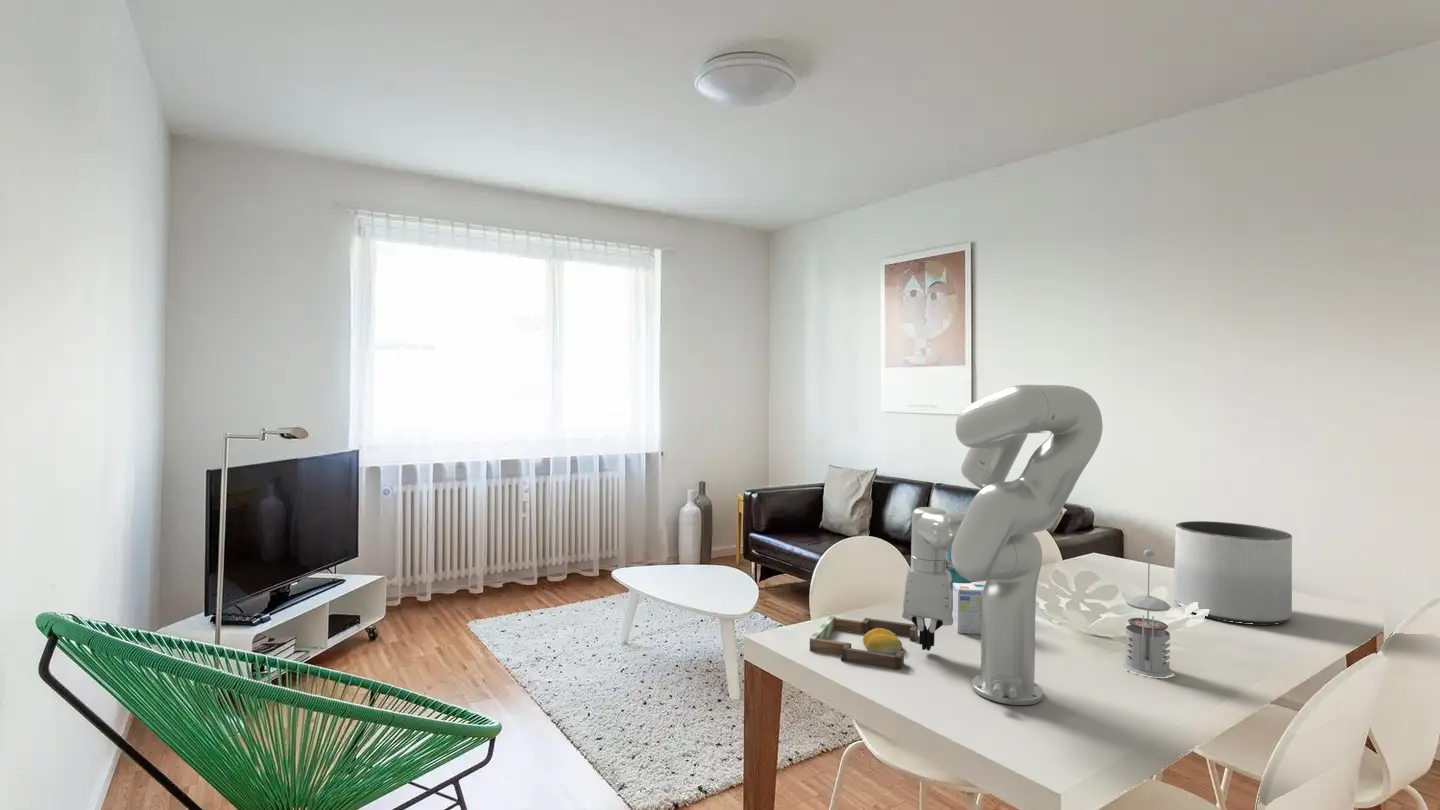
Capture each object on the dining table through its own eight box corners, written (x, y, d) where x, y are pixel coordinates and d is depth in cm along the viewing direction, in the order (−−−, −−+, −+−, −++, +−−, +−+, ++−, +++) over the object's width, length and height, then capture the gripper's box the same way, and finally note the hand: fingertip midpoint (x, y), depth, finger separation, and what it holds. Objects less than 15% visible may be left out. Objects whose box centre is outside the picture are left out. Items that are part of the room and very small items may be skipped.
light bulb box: (995, 626, 175) (996, 583, 175) (1004, 636, 168) (1004, 590, 168) (951, 625, 176) (951, 581, 176) (957, 634, 169) (958, 588, 169)
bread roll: (869, 656, 155) (869, 637, 155) (860, 642, 164) (860, 624, 164) (907, 656, 155) (907, 637, 155) (895, 641, 164) (895, 624, 164)
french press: (1174, 666, 150) (1176, 548, 149) (1176, 685, 140) (1178, 558, 139) (1120, 657, 155) (1122, 542, 154) (1118, 675, 145) (1121, 552, 144)
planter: (1280, 635, 171) (1282, 543, 170) (1160, 610, 189) (1162, 528, 189) (1300, 613, 188) (1301, 530, 188) (1188, 593, 207) (1189, 517, 206)
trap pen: (900, 670, 146) (900, 656, 146) (805, 654, 154) (805, 641, 154) (917, 635, 168) (917, 623, 168) (833, 623, 176) (833, 612, 176)
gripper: (966, 565, 156) (964, 648, 156) (897, 557, 162) (895, 637, 162) (963, 573, 149) (960, 660, 149) (890, 564, 155) (888, 648, 155)
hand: (926, 648), depth 156 cm, fingers closed
